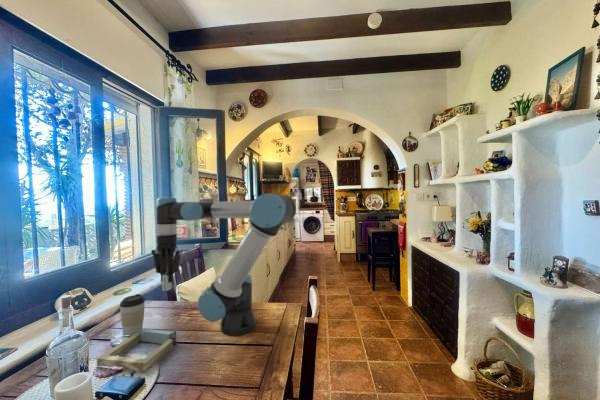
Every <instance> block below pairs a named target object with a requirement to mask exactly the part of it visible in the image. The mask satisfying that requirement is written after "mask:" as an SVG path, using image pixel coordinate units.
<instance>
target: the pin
mask: <svg viewBox="0 0 600 400" xmlns="http://www.w3.org/2000/svg"><path fill="white" fill-rule="evenodd" d="M171 332H172V340H173V347H174V346H176V345H177V330H172V331H171Z"/></svg>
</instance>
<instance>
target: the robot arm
mask: <svg viewBox="0 0 600 400" xmlns="http://www.w3.org/2000/svg"><path fill="white" fill-rule="evenodd" d="M155 209H156V234H157V235H156V244H157V246H156V248H155V249H152V250H151V254H152V257H153V261H154V266H155V272H156V274H160V282H161V283H162V291H163V292H164V291H165V292H167V291H170V290H172V286H173V281H174V274H175V273H177V272H178V271H179V265H180V260H181V255H182V253H183V250H182V249H179V248H178V246H177V241H178V240H177V239H178V236H177V235H178V234H177V233H178V232H177V231H178V230H177V226H178V225H177V223H178V222H177V221H188V222H190V221H197V220H201V219H248V225H249V227H248V229H247V230H246V232H245V234H244V236H243V237H242V239H241V241H240V242H239V244H238V246H237V248H236V249H235V251H234V253H233V254H232V256H231V258H230V260H229V261H228V263H227V265H226V267H225V268H224V270H223V272H222V274H221V275H219V276H217V277H215V278H214V279H213V282H212V284H211V285H210V286H209V289H207V290H205V291H204V292H202V293H201V294H200V295H199V296H198V300H197V307H198V311H199V313H200V315H201V316H202V317H203V318H204V319H205V320H206V321H208V322H211V323H212V322H214V323H216V322H218V321H220V320H221V321H220V331H221V333H222V334H225V335H227V336H241V335H246V334H248V333H251V332H252V331H253V330H254V329H255V328H256V325H257V323H256V317H255V313H254V310H253V306H252V305H253V304H252V303H253V301H252V298H253V297H252V296H253V295H252V293H253V289H252V288H253V282H252V276H251V275H250V274H249V273H250V272H251V270H252V269H253V267H254V265H255V263H256V262H257V261H258V259H259V256H260V255H261V253H262V251H264V248H265V247H266V245H267V243H268V242H269V240H270V239H271V238H274V237H276V236H277V234H278V233H279V231H280V230H281V228H282V226H283V225H284V224H288V223H289V222H291V221H292V220H293V219H294V218H295V216H296V213H297V205H296V202H295V201H294V199H293V198H292V197H290V196H289V195H286V194H280V193H279V194H276V193H269V192H268V193H264V194H260V195H259V196H258V197H256V198H255V199H254V200H235V201H233V200H231V201H229V200H228V201H227V200H226V201H184V202H183V201H180V202H178V200H177V198H176V197H158V198H157V199H156V207H155Z"/></svg>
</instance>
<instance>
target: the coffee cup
mask: <svg viewBox="0 0 600 400" xmlns="http://www.w3.org/2000/svg"><path fill="white" fill-rule="evenodd" d="M145 302H146V299H145V297H143V296H142V294H140V293H137V294H134V295H130V296H126V297H124V298H123V299H122V300H121V301H120V302H119V303H120V304H119V307H120V320H121V321H120V322H121V326H122V335H123V334H124V335H134V334H135V333H137V332H139V333H141V331H142V330H143V326H144V317H145Z"/></svg>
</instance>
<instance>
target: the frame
mask: <svg viewBox="0 0 600 400" xmlns="http://www.w3.org/2000/svg"><path fill="white" fill-rule="evenodd" d="M140 342H142V341H141V333H139V332H137V333H135V334H134V335H132V336H128V338H126V339H125V340H123V341H121V342H120V343H119V344H117V345H116V346H114V347H112V348H110V349H109V350H108V351H106V352H105V353H103V354H101V355H100V356H98V357H97V358H96V367H97V366H117V367H123V368H124V369H125V370H124V371H126V370H135V371H138V373H146V372H148V371H149V370H150V369H151V368H152V367H153V366H154V365H155V364H156V363H158V362H159V361H160V360H161V359H162V358H163V357H164V356H165V355H167V354H168V353H169V352H170V351H171V350H172V349H173V348H174V346H173V340H171V339H168V340H167V341H166V342H164V343H163V344H160V345H159V346H158V347H157V348H155V349H154V350H153V351H152V352H151V353H150V354H149V355H147V356H146V357H145V358H138V357H128V356H121V355H122V353H123V354H125V353H126V352H127V351H129V350H130V349H131V348H133V347H134V346H136V345H137V344H139V343H140ZM120 354H121V355H120ZM117 355H120V356H117ZM148 369H149V370H148ZM135 371H134V372H135Z"/></svg>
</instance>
